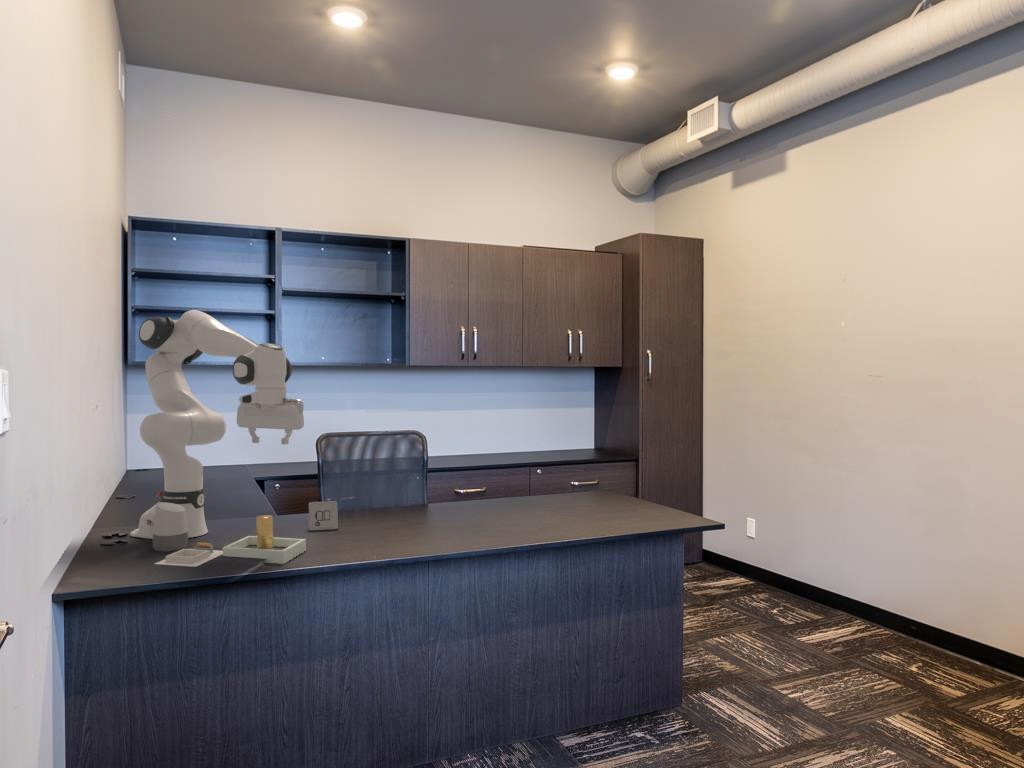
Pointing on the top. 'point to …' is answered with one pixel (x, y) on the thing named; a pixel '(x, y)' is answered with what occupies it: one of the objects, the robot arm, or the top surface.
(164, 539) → the smart speaker
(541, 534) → the top surface
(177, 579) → the top surface
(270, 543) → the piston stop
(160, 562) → the base
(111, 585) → the top surface
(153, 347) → the robot arm
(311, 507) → the electrical switch
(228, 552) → the tray
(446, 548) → the top surface
